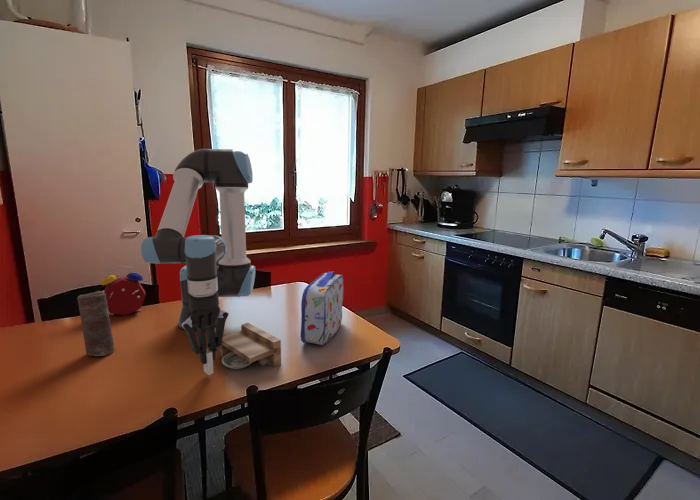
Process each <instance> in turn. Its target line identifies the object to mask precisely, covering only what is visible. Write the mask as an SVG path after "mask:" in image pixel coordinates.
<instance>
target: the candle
mask: <svg viewBox="0 0 700 500" xmlns="http://www.w3.org/2000/svg"><path fill="white" fill-rule="evenodd" d="M77 303H78V304H77V305H78V310H79V315H80V320H81V327H82V334H83V341H84V346H85V353H86V355H88V356H91V357H92V356H94V357H106V356H109V355H111V354H112V353H113V352H114V351H115V343H114V337H113V331H112V325H111V320H110V312H109V311H108V305H107V299H106V293H104V291H102V290H97V291H94V292H89V293H84V294H80V295H78V296H77Z"/></svg>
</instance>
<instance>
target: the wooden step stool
mask: <svg viewBox="0 0 700 500" xmlns="http://www.w3.org/2000/svg"><path fill="white" fill-rule="evenodd" d="M240 326H241V327H240V329H241V330H239V331H238V330H237V331H235V332H233V333H230V334H227V335H223V339H222V344H221V346H220V347H218V350H219V351H218V352H219V356H220V357H221V359H222V358H223V357H224V356H225V355H227V354H228V353H231V352H234V353H236V354H237V355H239V356H240V357H242V358H243V359H245V360H246V361H248V362H249V363H251V364H252V363H254V362H256V361H257V363H258V364H260V365H261V366H264V365H266V364H269V365H270V366H272V367H274V368H276V367H278V366H280V365H282V340H281V339H280V338H278V337H276V336H274V335H272V334H270V332H269V333H268V332H267V331H264V330H263V329H261V328H259V327H257V326H255V325H253V324H251V323H249V322H246V323H242V324H241V325H240Z"/></svg>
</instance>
